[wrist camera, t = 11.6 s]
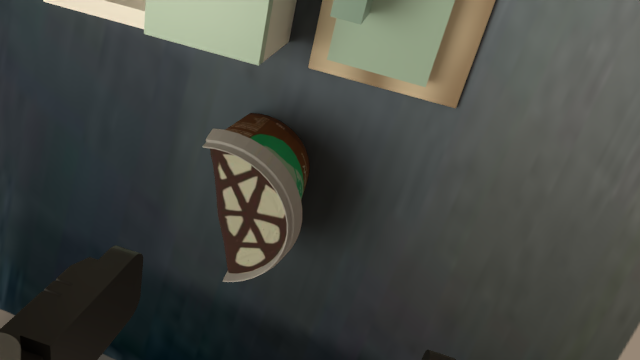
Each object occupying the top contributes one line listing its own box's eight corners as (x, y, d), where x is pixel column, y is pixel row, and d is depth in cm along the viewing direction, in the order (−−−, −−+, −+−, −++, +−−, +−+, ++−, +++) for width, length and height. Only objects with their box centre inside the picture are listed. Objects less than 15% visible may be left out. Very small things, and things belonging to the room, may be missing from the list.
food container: (325, 226, 47) (300, 294, 38) (261, 222, 48) (223, 287, 39) (320, 97, 41) (290, 142, 33) (248, 96, 43) (201, 138, 34)
